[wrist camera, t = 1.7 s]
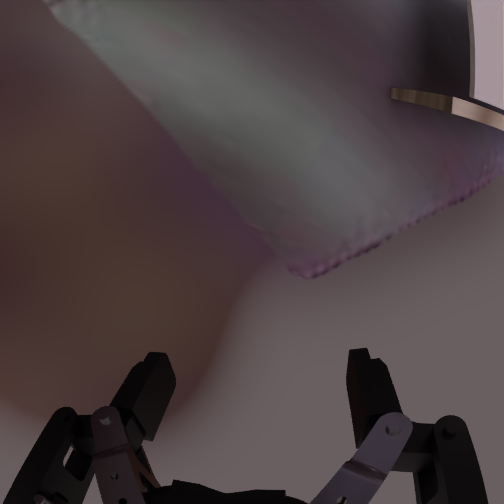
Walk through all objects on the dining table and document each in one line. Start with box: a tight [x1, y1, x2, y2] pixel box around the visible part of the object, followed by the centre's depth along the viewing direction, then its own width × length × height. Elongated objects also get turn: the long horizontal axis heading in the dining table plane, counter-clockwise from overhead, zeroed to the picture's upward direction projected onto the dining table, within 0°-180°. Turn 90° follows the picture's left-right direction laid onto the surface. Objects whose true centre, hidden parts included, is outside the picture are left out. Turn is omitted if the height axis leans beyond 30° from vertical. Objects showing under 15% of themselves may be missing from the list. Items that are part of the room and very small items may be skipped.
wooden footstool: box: [391, 88, 504, 131], centre depth 17 cm, size 24×20×14 cm
